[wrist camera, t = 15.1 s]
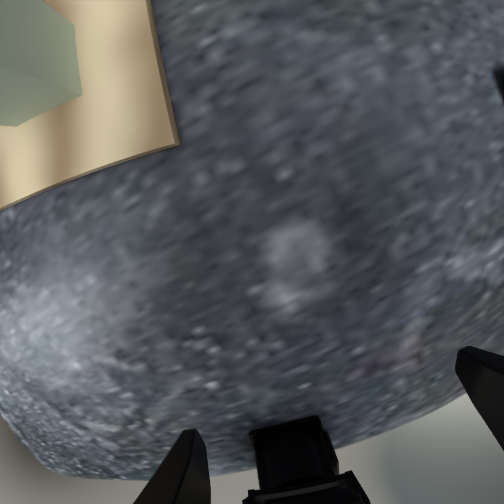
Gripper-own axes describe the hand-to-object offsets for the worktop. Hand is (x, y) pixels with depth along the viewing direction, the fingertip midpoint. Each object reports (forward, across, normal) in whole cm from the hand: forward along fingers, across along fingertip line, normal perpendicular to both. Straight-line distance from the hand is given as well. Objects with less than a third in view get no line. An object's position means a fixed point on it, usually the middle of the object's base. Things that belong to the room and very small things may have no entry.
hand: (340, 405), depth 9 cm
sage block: (+10, +11, -16) cm, 22 cm away
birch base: (+13, +11, -16) cm, 23 cm away
